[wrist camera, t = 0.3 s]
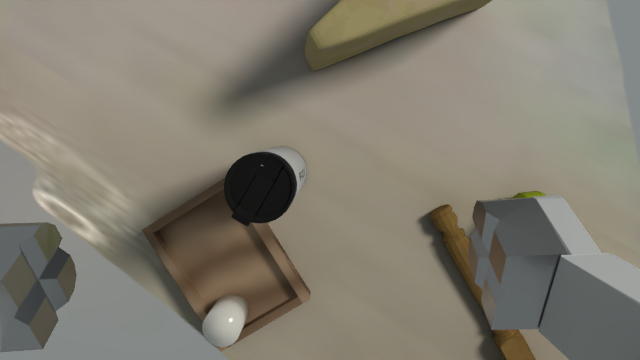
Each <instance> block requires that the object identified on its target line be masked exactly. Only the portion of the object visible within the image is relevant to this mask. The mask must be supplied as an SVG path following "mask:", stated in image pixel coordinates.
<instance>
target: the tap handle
mask: <svg viewBox="0 0 640 360" xmlns="http://www.w3.org/2000/svg"><path fill="white" fill-rule="evenodd" d="M451 210H452V207H451V206H450V205H448V204H447V205H443V206H440V207H438V208H436V209H435V210H433V211H432V212H431V213H430V218H432V219H433V223H434V225H435V227H436V228H437V229H438V230H439V231H441V232H442V233H443V235H444V236H443V238H442V240H443V241H444V242H445V243H446V247H447V249H448V251H449V253H450V255H451V256H452V258H453V260H454V261H455V263H456V265H457V267H458V268H459V270H460V272H461V273H462V275H463V277H464V279H465V280H466V282H467V284H468V285H469V287H470V289H471V291H472V292H473V294H474V296H475V297H476V299H477V301H478V302H479V304H480V306H481V308H482V309H483V311H484V308H483V305H482V303H481V298H482V292H483V289H482V288H481V287H479V286H478V285H477V284H475V283H474V280H473V277H472V274H471V269H470V265H469V251H468V248H469V239H468V237H466V236H465V235H464V234H465V232H464V229H462V228H461V229H460V228H458V226H457V222H458V219H457V216H456V214H455V213H454V212H453V211H451ZM484 313H485V311H484ZM490 329H491V328H490ZM492 331H493V332H494V333H495V334H494V336H493V339H494V341H495V343H496V345H497V347H498V348H499V350H500V352H501V354H502V356H503V358H504V360H535V358H534V356H533V354H532V352H531V350H530V348H529V347H528V345H527V343H526V341H525V339H524V337H523V336H522V334H521V333H520V332H519V330H518V329H509V330H492Z"/></svg>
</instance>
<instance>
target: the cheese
mask: <svg viewBox="0 0 640 360" xmlns="http://www.w3.org/2000/svg"><path fill="white" fill-rule="evenodd" d="M491 1H492V0H340V1H339V2H338V3H337V4H336V5H335V6H334V7H332V8H331V9H330V10H329V11H328V12H327V13H326V14H325V15H324V16H323V17H322V18H321V19H320V20H319V21H318V22H317V23H316V24H315V25H314V26H313V27H312V28H311V29H310V31H309V32H308V35H307V40H306V45H305V52H304V53H305V57H306V60H307V62H308V64H309V66H310V68H311V69H312V70H314V71H316V70H320V69H323V68H325V67H327V66H330V65H332V64H335V63H337V62H339V61H342V60H344V59H347V58H349V57H352V56H354V55H357V54H359V53H361V52H364V51H366V50H369V49H371V48H373V47H376V46H378V45H381V44H383V43H385V42H388V41H390V40H393V39H395V38H397V37H400V36H403V35H406V34H408V33H411V32H414V31H417V30H420V29H422V28H425V27H427V26H430V25H432V24H435V23H437V22H439V21H442V20H445V19H448V18H451V17H454V16H457V15H460V14H463V13H466V12H469V11H473V10H476V9H479V8H481V7H483V6H485V5H486V4H487V3H489V2H491Z"/></svg>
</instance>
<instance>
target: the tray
mask: <svg viewBox="0 0 640 360" xmlns="http://www.w3.org/2000/svg"><path fill="white" fill-rule="evenodd" d="M224 182H225V179H223V180H222V181H220V182H218V183H217V184H215V185H214V186H212V187H210V188H209V189H207V190H206V191H204V192H202V193H201V194H199V195H198V196H196V197H194V198H193V199H191V200H189V201H188V202H186V203H185V204H183V205H181V206H180V207H178V208H177V209H175V210H173V211H172V212H170V213H169V214H167V215H165V216H164V217H162V218H160V219H159V220H157V221H156V222H154V223H152V224H151V225H149V226H148V227H146V228H144V229H143V230H142V231H143V232H144V234H145V236H146V237H147V239H148V240H149V242H150V243H151V245H152V246H153V248H154V249H155V251H156V252H157V254H158V256H159V257H160V259H161V260H162V262H163V263H164V265H165V266H166V268H167V269H168V271H169V272H170V274H171V276H172V277H173V279H174V280H175V282H176V283H177V285H178V286H179V288H180V289H181V291H182V292H183V294H184V296H185V297H186V299H187V300H188V302H189V303H190V305H191V306H192V308H193V309H194V311H195V313H196V314H197V316H198V317H199V319H200V320H201V322H202V323H203V321H204V319H205V318H206V316H207V315H208V313H209V312H210V310H211V309H212V307H213V306H214V305H215V303H216V302H217V300H218V299H219V298H220V297H221V296H223V295H224V294H228V293H235V294H238V295H240V296H242V297H243V298H244V299H245V300H246V301H247V303H248V306H249V315H248V317H247V320H246V322H245V324H244V326H243V328H242V330H241V332H240V335H239V337H238V339H237V340H236V341H235V342H234V343H233V344H235V343H236V342H238V341H240V340H241V339H243V338H245V337H246V336H248V335H250V334H252V333H253V332H255V331H257V330H258V329H260V328H262V327H263V326H265V325H267V324H268V323H270V322H272V321H273V320H275V319H277V318H279V317H280V316H282V315H284V314H285V313H287V312H289V311H290V310H292V309H294V308H295V307H297V306H299V305H301V304H302V303H304V302H306V301H307V300H309V299H310V291H309V289H308V288H307V286H306V284H305V283H304V281H303V280H302V278H301V276H300V275H299V273H298V272H297V270H296V268H295V267H294V265H293V264H292V262H291V261H290V259H289V257H288V256H287V254H286V253H285V251H284V249H283V248H282V246H281V245H280V243H279V241H278V240H277V238H276V237H275V235H274V234H273V232H272V230H271V229H270V227H269V226H268V224H267V223H251V222H250V224H249V226H245V225H243V224H241V223H240V222H238V221H236V220H235V219H233V218H232V217H231V216H232V214H233V211H232V210H231V209H230V207H229V205H228V204H227V201H226V199H225V194H224ZM233 344H231V345H233ZM231 345H229V346H226V347H218V348H219V349H220V351H223V350H224V349H226V348H228V347H230V346H231Z"/></svg>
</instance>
